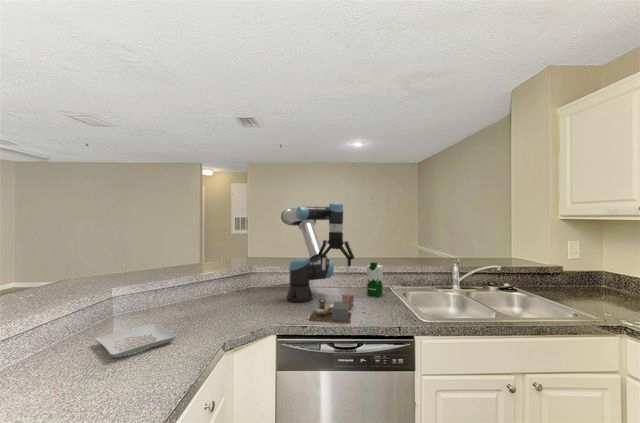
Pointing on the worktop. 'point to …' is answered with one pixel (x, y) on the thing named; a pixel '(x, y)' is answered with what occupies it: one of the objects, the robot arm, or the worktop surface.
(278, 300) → the worktop surface
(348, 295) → the link
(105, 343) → the salad plate
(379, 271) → the milk carton
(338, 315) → the keeper
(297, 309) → the worktop surface
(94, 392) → the worktop surface
